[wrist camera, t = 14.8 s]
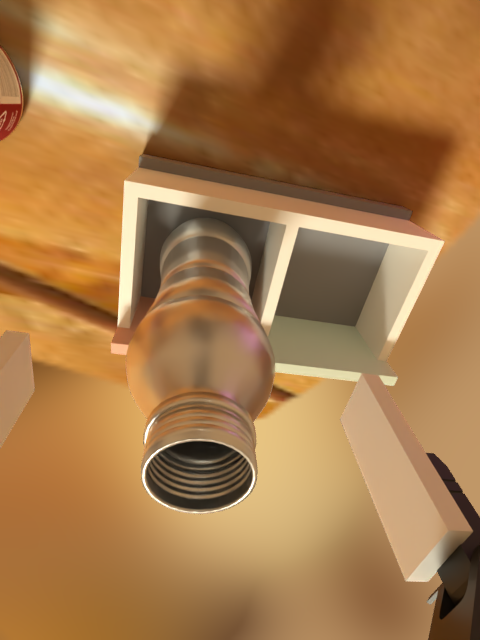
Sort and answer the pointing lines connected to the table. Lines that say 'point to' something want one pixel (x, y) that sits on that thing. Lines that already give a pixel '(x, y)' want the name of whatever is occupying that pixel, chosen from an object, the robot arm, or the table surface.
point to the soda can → (9, 96)
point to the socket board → (285, 262)
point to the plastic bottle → (201, 372)
